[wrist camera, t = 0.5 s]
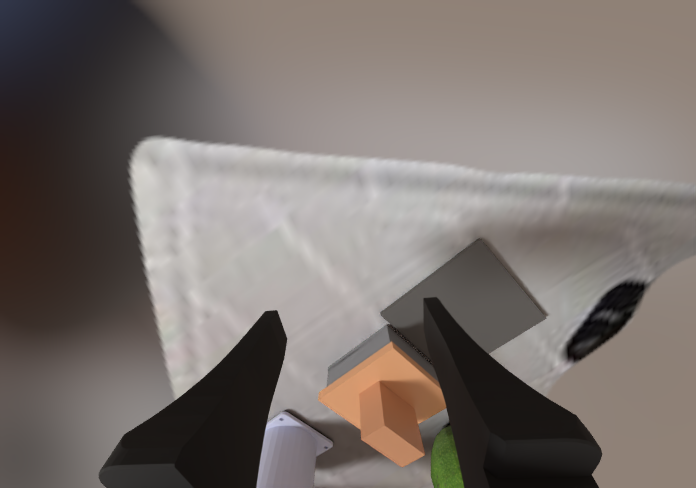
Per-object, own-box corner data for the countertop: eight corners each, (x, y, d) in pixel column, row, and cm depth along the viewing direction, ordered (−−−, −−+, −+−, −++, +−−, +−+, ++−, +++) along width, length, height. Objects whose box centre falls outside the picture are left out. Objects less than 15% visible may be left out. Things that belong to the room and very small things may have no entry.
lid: (380, 427, 30) (387, 492, 25) (319, 383, 27) (313, 446, 22) (449, 385, 28) (473, 448, 22) (390, 333, 25) (401, 390, 20)
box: (378, 405, 32) (381, 432, 29) (328, 367, 29) (326, 392, 27) (436, 369, 29) (445, 394, 27) (386, 324, 27) (391, 347, 24)
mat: (448, 374, 30) (450, 377, 29) (380, 312, 27) (380, 315, 26) (543, 315, 27) (546, 318, 26) (479, 238, 23) (481, 239, 23)
